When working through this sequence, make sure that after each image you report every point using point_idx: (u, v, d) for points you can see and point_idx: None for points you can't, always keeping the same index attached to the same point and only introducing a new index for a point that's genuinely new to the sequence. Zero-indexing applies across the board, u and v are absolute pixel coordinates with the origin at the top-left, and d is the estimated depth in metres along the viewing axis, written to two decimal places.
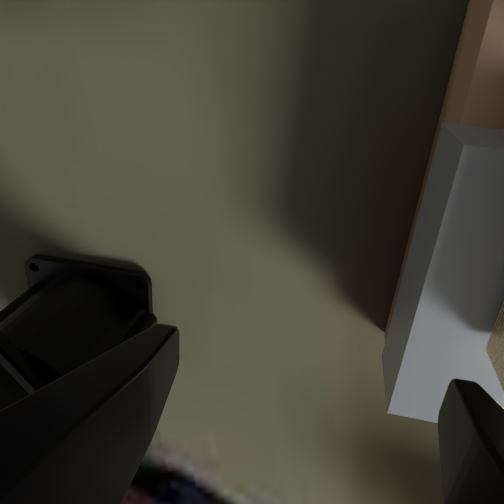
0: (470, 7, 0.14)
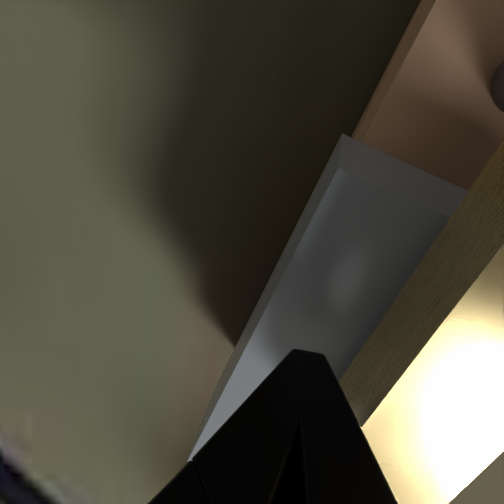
0: (421, 3, 0.11)
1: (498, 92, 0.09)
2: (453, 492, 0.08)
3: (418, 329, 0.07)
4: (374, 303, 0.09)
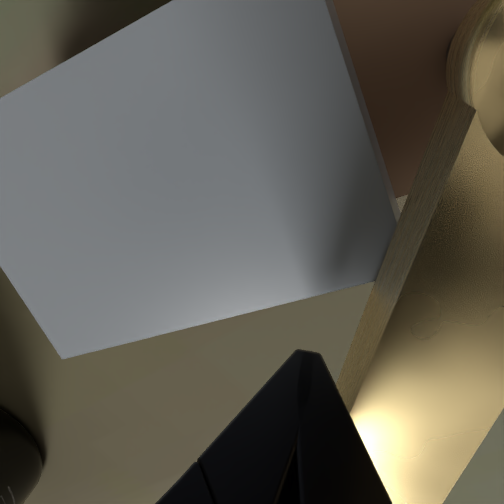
0: None
1: None
2: (457, 473, 0.07)
3: (384, 309, 0.07)
4: (224, 107, 0.08)
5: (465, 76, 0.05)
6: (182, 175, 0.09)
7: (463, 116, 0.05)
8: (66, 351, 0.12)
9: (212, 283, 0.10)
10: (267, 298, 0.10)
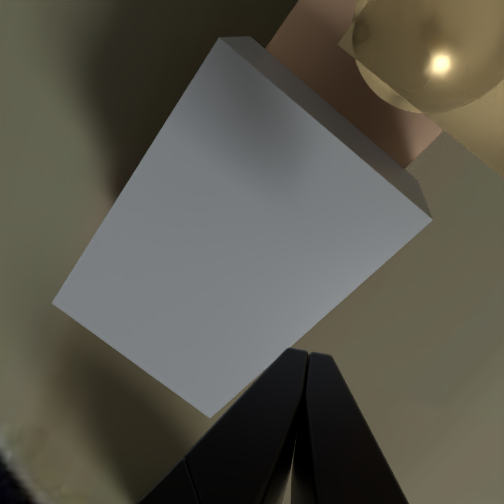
0: None
1: None
2: None
3: None
4: (230, 174, 0.10)
5: None
6: (227, 235, 0.11)
7: None
8: (210, 410, 0.14)
9: (287, 304, 0.12)
10: (334, 296, 0.11)
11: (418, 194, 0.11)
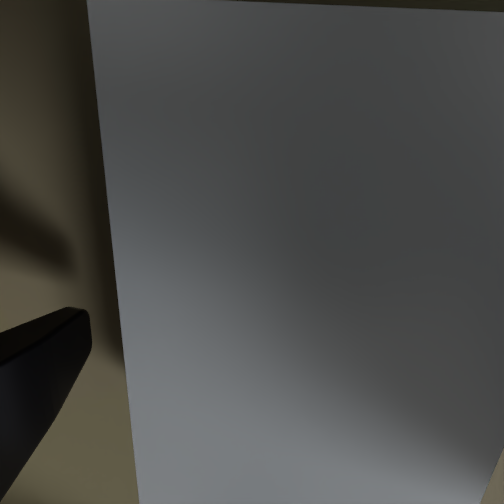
0: None
1: None
2: None
3: None
4: (241, 195, 0.06)
5: None
6: (298, 293, 0.06)
7: None
8: None
9: (467, 348, 0.06)
10: None
11: None
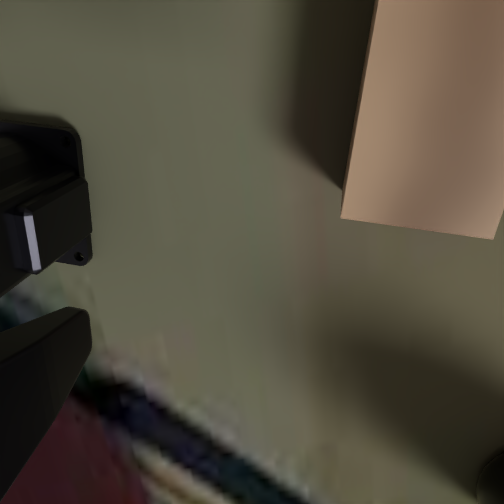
0: None
1: None
2: None
3: None
4: None
5: None
6: None
7: None
8: None
9: None
10: None
11: None
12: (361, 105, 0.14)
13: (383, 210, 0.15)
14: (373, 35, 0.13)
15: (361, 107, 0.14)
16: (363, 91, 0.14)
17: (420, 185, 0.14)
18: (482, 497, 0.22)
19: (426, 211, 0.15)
